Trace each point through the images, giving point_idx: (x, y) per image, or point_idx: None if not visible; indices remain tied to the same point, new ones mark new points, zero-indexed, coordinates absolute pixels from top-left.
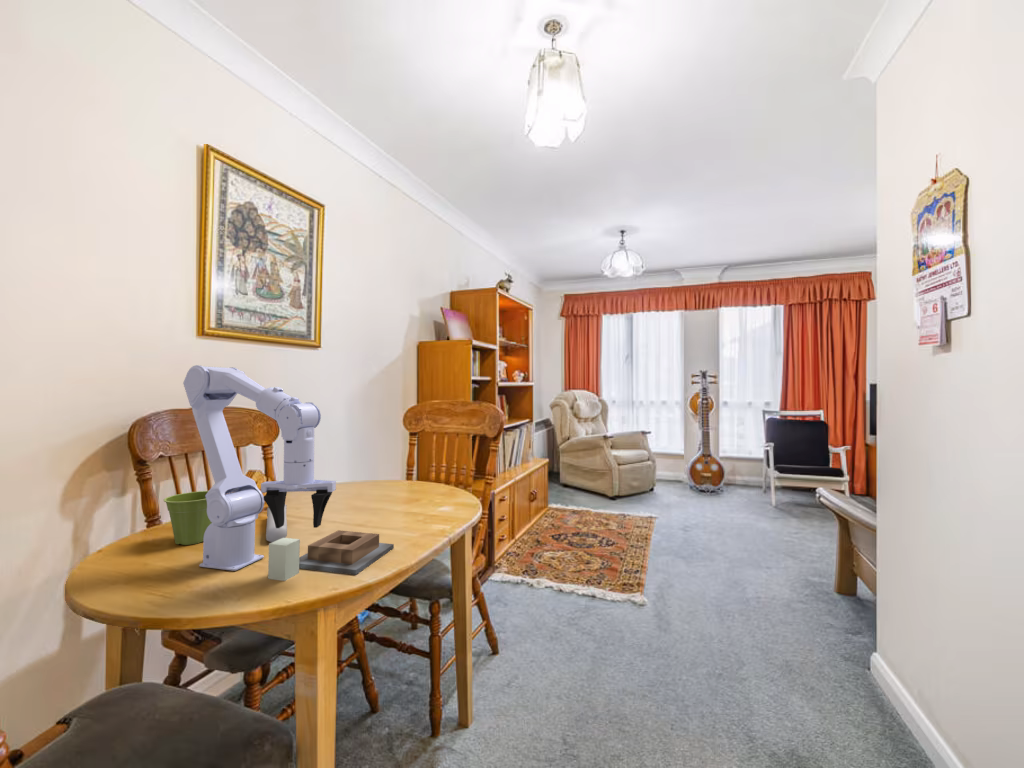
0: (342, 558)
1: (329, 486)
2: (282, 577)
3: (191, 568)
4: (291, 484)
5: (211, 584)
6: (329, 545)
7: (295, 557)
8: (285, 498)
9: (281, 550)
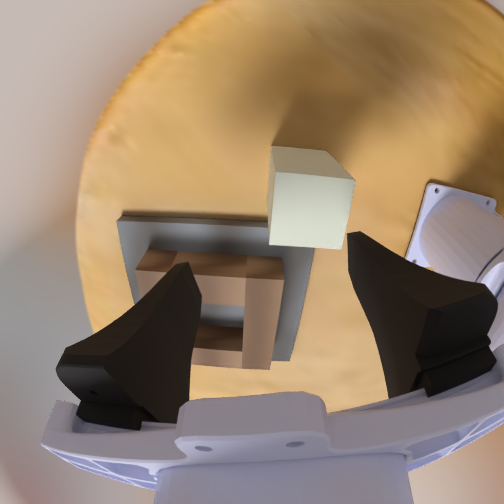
0: (171, 257)
1: (57, 429)
2: (280, 147)
3: (500, 193)
4: (275, 466)
5: (434, 111)
6: (220, 289)
7: (269, 201)
8: (385, 378)
9: (294, 168)
